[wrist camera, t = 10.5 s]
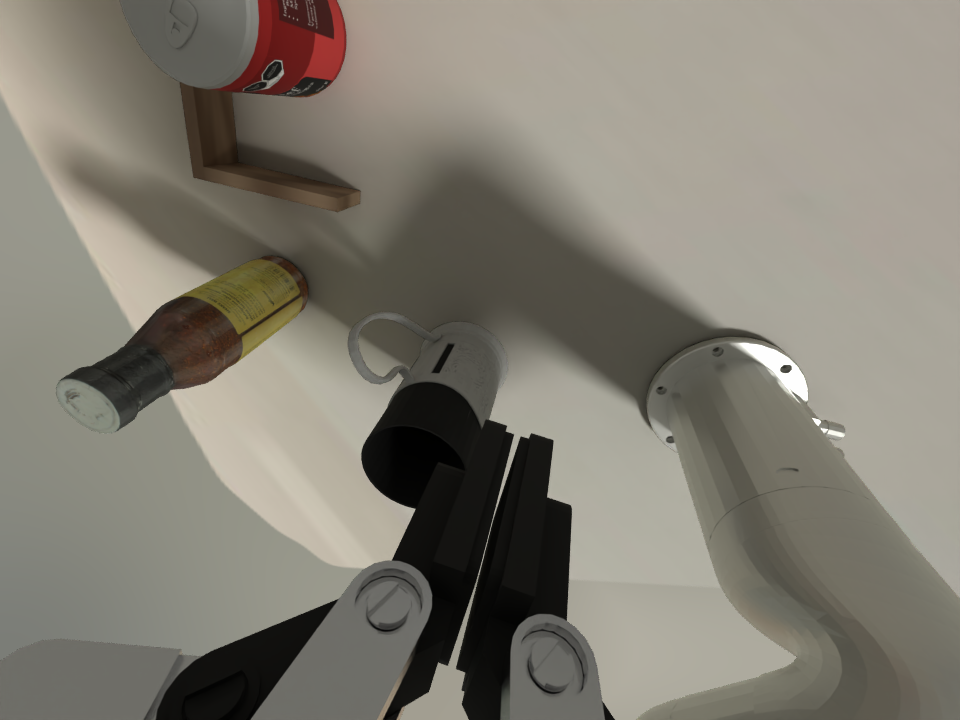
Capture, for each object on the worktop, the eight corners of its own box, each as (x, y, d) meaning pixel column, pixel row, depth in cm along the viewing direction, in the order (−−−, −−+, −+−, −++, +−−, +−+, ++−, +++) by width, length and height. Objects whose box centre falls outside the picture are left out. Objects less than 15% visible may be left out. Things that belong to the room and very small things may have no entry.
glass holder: (446, 410, 45) (395, 525, 32) (374, 290, 40) (278, 370, 27) (522, 385, 42) (499, 502, 29) (454, 252, 37) (389, 322, 24)
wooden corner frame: (374, -157, 26) (343, -200, 23) (359, 203, 37) (337, 212, 33) (190, -188, 27) (134, -234, 23) (228, 172, 37) (193, 177, 34)
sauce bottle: (245, 250, 41) (7, 343, 24) (307, 256, 40) (105, 357, 23) (260, 314, 44) (59, 437, 27) (317, 321, 43) (147, 453, 26)
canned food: (247, 74, 33) (116, 55, 24) (257, -58, 29) (104, -143, 20) (338, 115, 34) (244, 113, 24) (360, -10, 30) (258, -73, 20)
